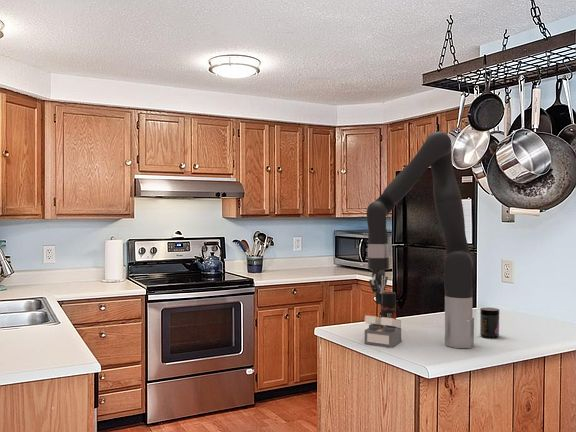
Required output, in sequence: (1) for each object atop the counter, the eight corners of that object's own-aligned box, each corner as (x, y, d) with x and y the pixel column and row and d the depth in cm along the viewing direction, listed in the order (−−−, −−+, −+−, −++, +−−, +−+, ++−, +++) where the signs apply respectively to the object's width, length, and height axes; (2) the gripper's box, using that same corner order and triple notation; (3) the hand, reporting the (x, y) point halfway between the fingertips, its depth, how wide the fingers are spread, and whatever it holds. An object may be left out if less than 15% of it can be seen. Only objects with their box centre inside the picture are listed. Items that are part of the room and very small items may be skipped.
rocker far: (384, 325, 195) (385, 318, 196) (375, 323, 187) (375, 316, 188) (374, 324, 198) (375, 317, 198) (364, 322, 189) (365, 315, 190)
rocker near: (400, 327, 192) (401, 320, 193) (391, 325, 184) (392, 318, 185) (390, 326, 194) (390, 318, 195) (380, 324, 186) (381, 316, 187)
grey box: (401, 341, 193) (401, 325, 193) (391, 347, 184) (391, 330, 184) (375, 338, 198) (375, 322, 198) (364, 344, 189) (364, 327, 189)
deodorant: (384, 333, 206) (384, 294, 206) (378, 329, 212) (378, 292, 212) (398, 332, 208) (398, 293, 208) (391, 328, 214) (391, 291, 214)
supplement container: (494, 340, 195) (494, 311, 195) (476, 336, 200) (476, 309, 200) (502, 336, 200) (502, 309, 200) (485, 334, 205) (485, 306, 205)
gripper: (381, 257, 188) (382, 307, 188) (394, 255, 199) (395, 301, 199) (361, 257, 192) (362, 305, 192) (375, 254, 203) (376, 300, 203)
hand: (379, 303), depth 195 cm, fingers closed
